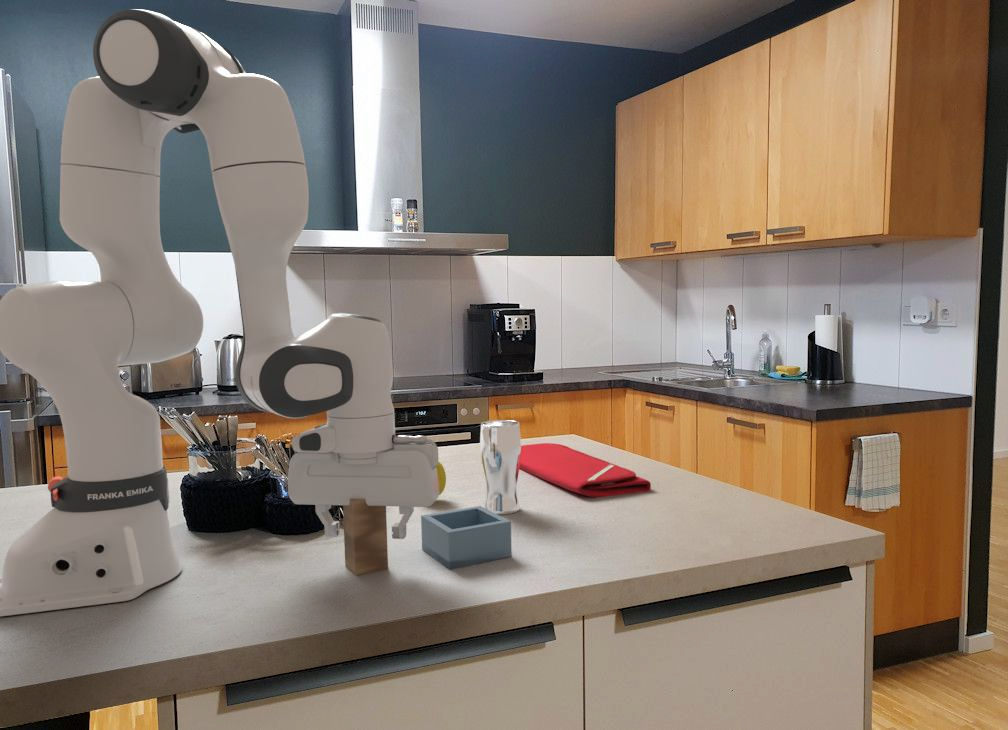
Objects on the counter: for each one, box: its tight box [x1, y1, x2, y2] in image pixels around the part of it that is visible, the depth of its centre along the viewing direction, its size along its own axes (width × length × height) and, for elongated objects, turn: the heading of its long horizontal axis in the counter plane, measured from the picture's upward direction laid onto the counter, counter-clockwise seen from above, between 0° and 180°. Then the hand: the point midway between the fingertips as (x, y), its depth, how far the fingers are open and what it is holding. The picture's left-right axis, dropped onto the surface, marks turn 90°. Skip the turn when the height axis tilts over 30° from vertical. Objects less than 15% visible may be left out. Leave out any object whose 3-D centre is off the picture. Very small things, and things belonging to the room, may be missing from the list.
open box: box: [420, 505, 512, 570], centre depth 107 cm, size 10×10×5 cm
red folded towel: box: [519, 442, 652, 498], centre depth 156 cm, size 16×41×4 cm, turn 21°
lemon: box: [436, 460, 447, 496], centre depth 136 cm, size 6×6×8 cm
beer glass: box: [479, 419, 522, 515], centre depth 129 cm, size 7×7×15 cm
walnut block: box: [342, 499, 389, 576], centre depth 102 cm, size 4×4×10 cm
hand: (365, 536), depth 102 cm, fingers open, 8 cm apart
